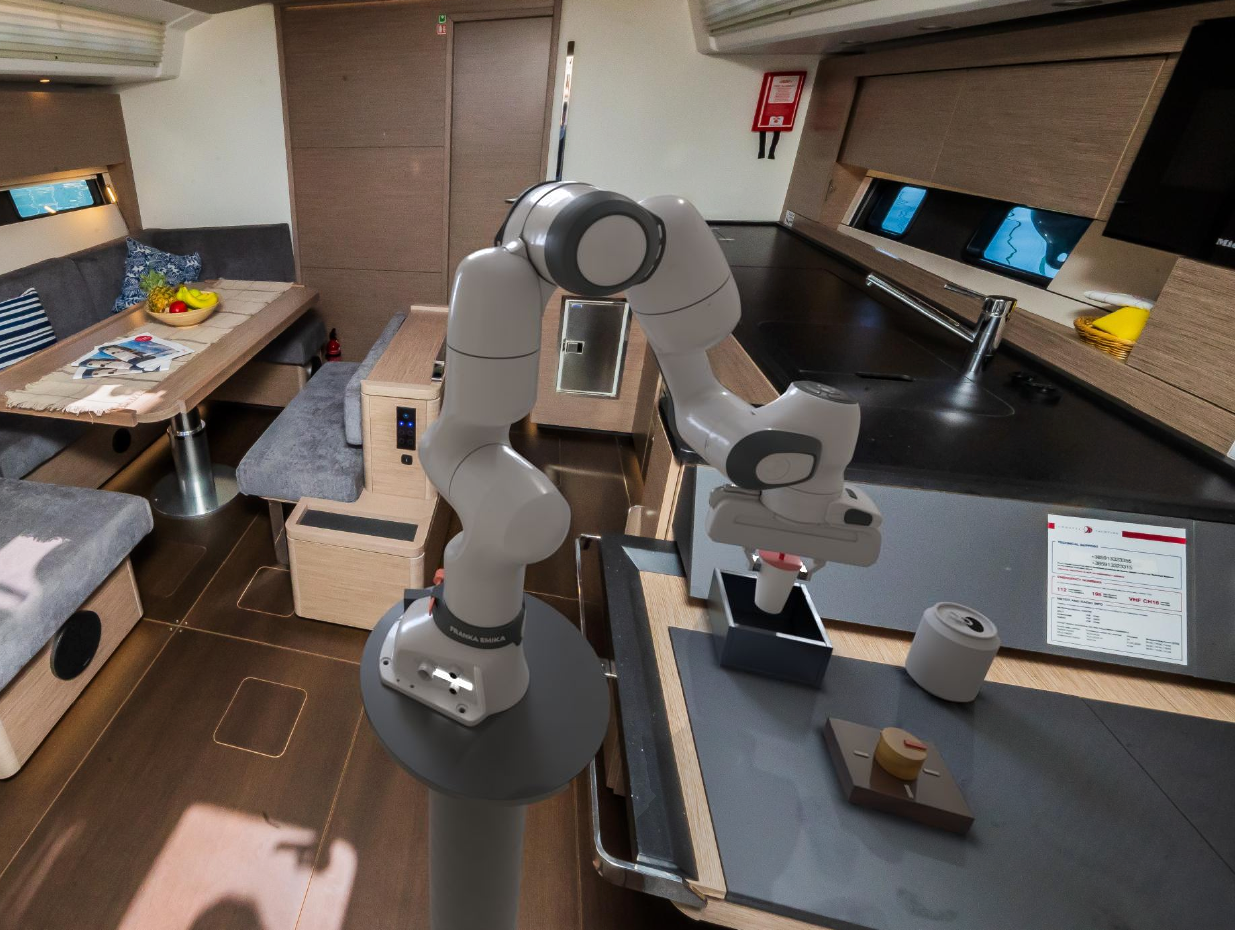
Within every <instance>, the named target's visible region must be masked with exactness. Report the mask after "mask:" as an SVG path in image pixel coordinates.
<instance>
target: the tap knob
mask: <svg viewBox="0 0 1235 930" xmlns="http://www.w3.org/2000/svg"><path fill="white" fill-rule="evenodd" d="M882 730H883V731H882V733H881V736H880V738H879V741H878V743H877V746H876V748H875V751H874V755H875V758H876V760H877V761H878V763H879V764H880V765H881V766H882V767H883V768H884V769H885V770H886V771H888V772H889V773H891V774H892V775H894V776H896V777H898V778H901V779H904V780H914V779H916V778H917V777H918V774H919V772H920V770H921V768H922V765H923V763H924V761H925V759H926V757H927V752H926V749H927V748H926V746H925V745H924V744H922V743H921V742H920V741H919V740H918V739H919V738H917V737H916V736H914V735H913V734H911V733H910V732H908V731H906V730H904V729H902V728H900V727H895V726H887V727H884V728H883V729H882Z"/></svg>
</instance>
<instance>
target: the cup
mask: <svg viewBox="0 0 1235 930" xmlns="http://www.w3.org/2000/svg"><path fill="white" fill-rule="evenodd" d="M758 556H759V560H760V562H761V568H760V572H756V573H757V574H756V575H757V582H756V594H755V603H756V605H757V606H758V607H759V608H760V609H762V610H763V611H765V612H768V613H772V614H777V613H780V612H781V611H782V609H783V607H784V604H785V602H786V600H787V598H788V596H789V594H790V591H791V589H792V587H793V585H794V583H796V580H797V576H798V574H799V572H800V569H802V567H803V564H804V561H803V560H802V558H801V557H800V556H794V555H789V554H783V553H777V552H771V551H765V550H759V549H758Z"/></svg>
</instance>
